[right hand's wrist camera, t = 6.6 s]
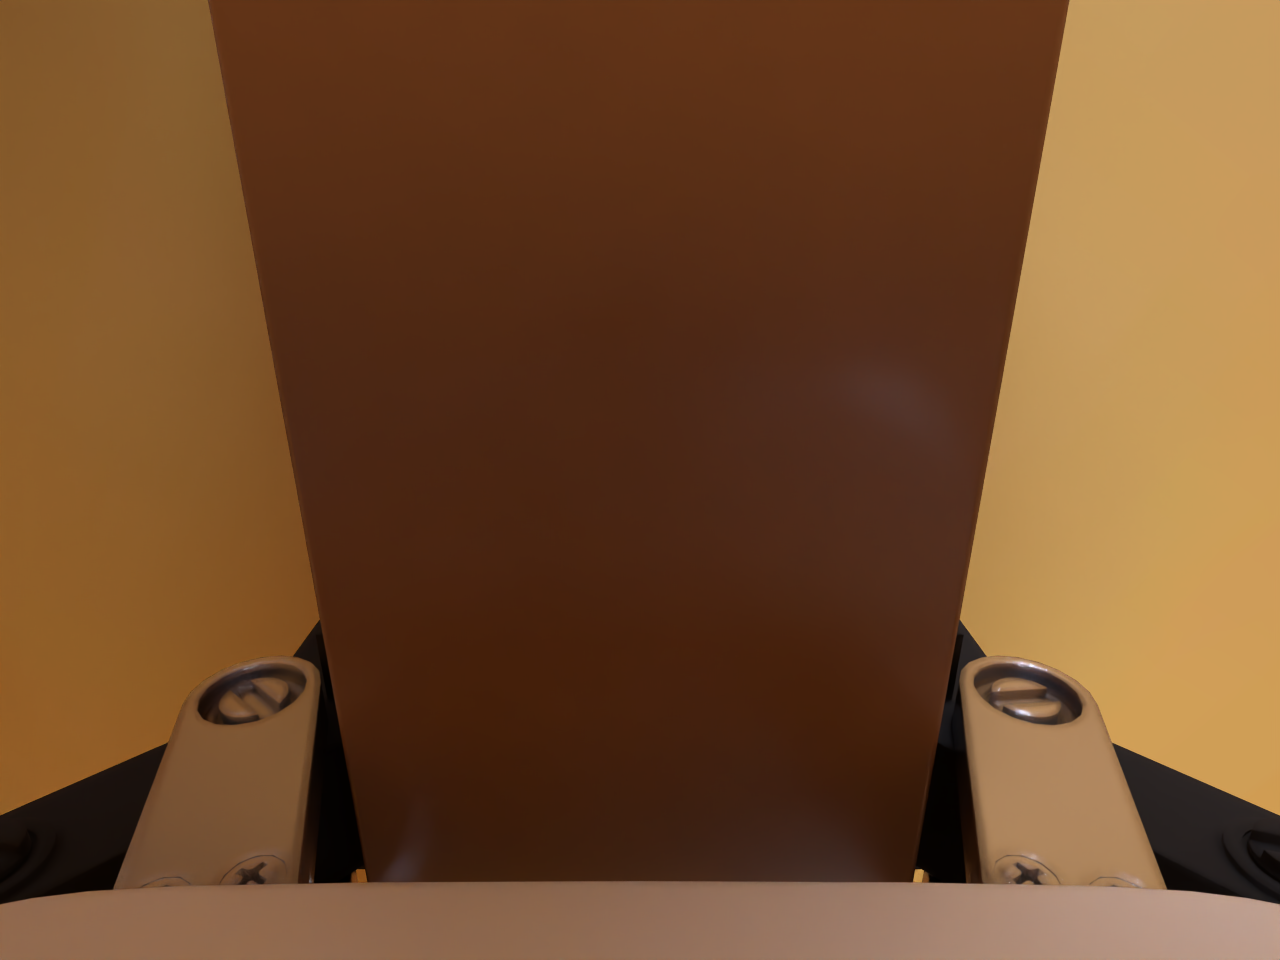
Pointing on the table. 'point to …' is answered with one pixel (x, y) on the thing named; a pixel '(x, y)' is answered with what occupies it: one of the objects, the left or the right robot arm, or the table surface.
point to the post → (639, 407)
